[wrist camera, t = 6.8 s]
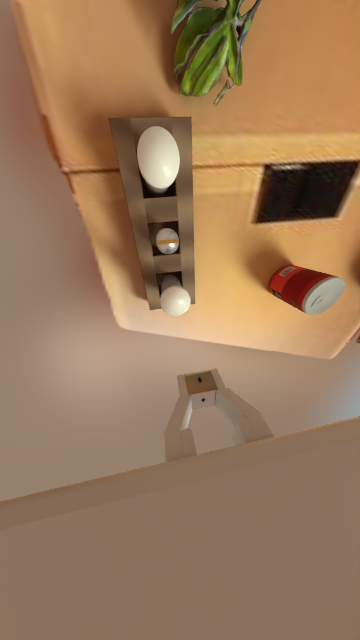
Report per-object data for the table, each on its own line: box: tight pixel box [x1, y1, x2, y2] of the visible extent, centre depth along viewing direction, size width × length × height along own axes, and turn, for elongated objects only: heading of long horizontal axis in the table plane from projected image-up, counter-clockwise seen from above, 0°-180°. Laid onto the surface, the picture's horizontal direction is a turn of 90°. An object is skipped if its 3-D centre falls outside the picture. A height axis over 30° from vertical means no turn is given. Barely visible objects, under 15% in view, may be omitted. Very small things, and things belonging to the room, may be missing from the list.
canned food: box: [269, 265, 345, 315], centre depth 33 cm, size 8×8×11 cm
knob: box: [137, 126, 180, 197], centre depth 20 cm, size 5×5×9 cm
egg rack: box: [109, 117, 195, 310], centre depth 26 cm, size 26×10×4 cm, turn 4°
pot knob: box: [156, 228, 179, 254], centre depth 23 cm, size 3×3×6 cm
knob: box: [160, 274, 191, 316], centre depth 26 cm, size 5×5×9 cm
